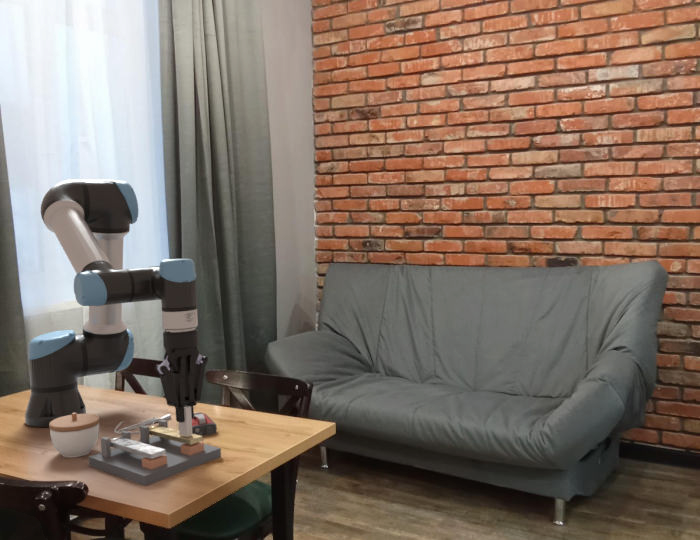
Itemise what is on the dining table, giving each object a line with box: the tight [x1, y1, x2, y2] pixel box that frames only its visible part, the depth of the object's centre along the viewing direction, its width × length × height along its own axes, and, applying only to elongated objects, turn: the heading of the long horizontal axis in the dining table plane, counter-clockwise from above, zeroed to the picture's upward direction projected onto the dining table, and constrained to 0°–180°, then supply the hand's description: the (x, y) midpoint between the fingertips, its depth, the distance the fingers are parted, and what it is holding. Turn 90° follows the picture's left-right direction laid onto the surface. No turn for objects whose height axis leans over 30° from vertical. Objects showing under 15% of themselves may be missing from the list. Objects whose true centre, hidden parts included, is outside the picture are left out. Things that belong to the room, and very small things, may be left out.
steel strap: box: [110, 435, 166, 459], centre depth 147 cm, size 16×4×2 cm, turn 53°
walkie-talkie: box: [192, 412, 218, 437], centre depth 170 cm, size 9×4×20 cm
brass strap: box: [149, 424, 204, 445], centre depth 155 cm, size 16×4×2 cm, turn 53°
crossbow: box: [113, 413, 172, 435], centre depth 178 cm, size 16×13×2 cm
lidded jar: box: [48, 413, 100, 459], centre depth 158 cm, size 11×11×9 cm
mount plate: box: [88, 420, 222, 487], centre depth 151 cm, size 20×20×6 cm
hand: (185, 435), depth 152 cm, fingers closed
